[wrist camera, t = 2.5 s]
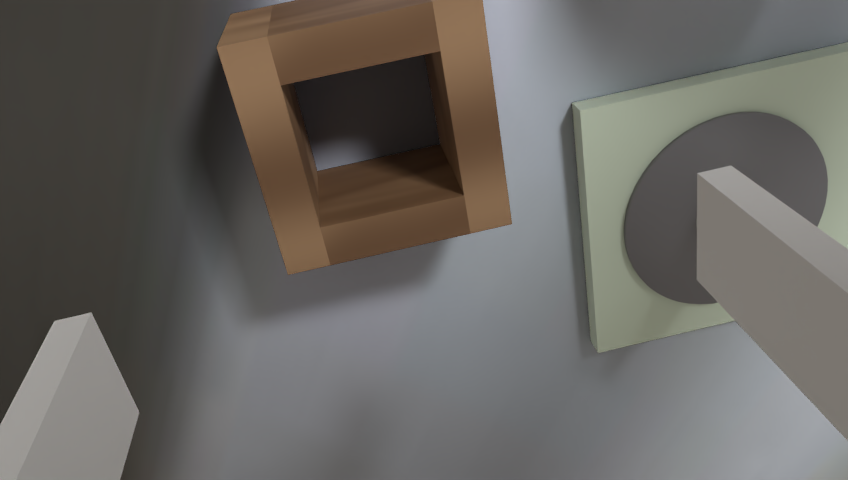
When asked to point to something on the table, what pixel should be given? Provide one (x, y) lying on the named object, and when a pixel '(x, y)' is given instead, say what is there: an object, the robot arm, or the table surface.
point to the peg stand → (677, 180)
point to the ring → (381, 177)
